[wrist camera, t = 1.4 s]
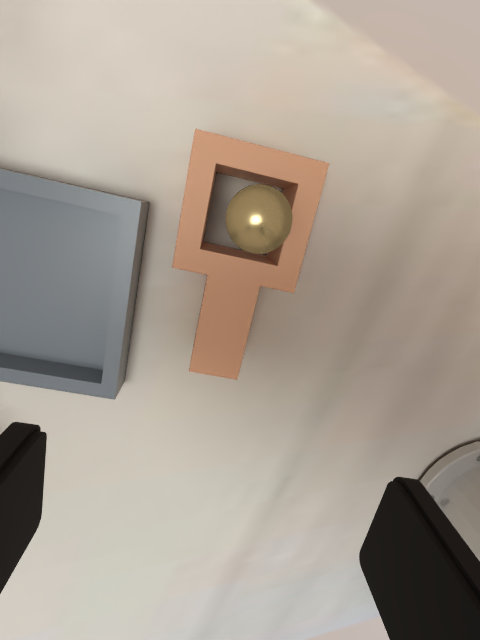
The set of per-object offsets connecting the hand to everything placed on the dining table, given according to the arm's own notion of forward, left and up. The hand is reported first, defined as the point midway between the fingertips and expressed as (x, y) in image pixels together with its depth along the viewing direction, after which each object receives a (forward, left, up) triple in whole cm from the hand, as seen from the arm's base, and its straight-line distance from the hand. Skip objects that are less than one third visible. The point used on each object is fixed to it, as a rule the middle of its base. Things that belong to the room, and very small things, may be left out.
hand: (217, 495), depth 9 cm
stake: (0, -7, -16) cm, 18 cm away
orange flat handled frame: (0, -4, -16) cm, 17 cm away
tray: (+15, 0, -16) cm, 22 cm away
